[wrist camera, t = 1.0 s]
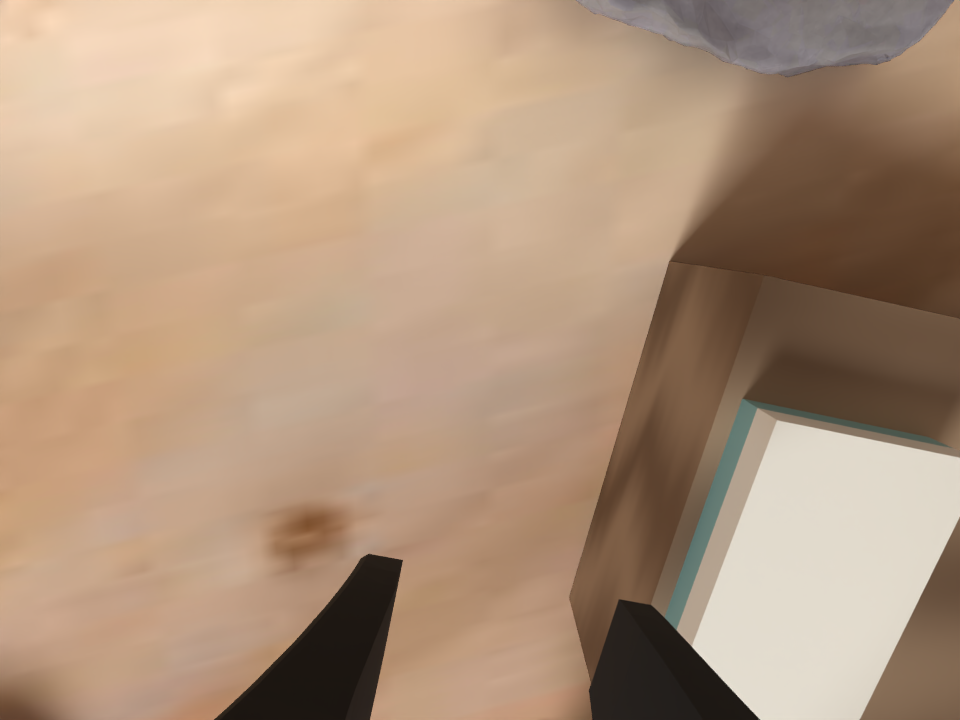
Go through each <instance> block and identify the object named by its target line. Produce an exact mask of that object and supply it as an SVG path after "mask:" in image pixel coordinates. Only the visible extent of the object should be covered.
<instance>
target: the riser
mask: <svg viewBox="0 0 960 720" xmlns="http://www.w3.org/2000/svg"><path fill="white" fill-rule="evenodd" d="M742 399H747V400H751V401H756V402H761V403H766V404H771V405H776V406H780V407H785V408H790V409H795V410H800V411H805V412H810V413H814V414H819V415H824V416H829V417H834V418H839V419H843V420H848V421H853V422H858V423H863V424H868V425H872V426H877V427H882V428H887V429H892V430H897V431H901V432H906V433H911V434H916V435H921V436H926V437H929V438H932V439H934V440H936V441H938V442H941V443H943V444H945V445H947V446H949V447H952V448H954V449H956V450H958V451H960V318H955V317H951V316H946V315H942V314H937V313H933V312H928V311H924V310H919V309H915V308H910V307H906V306H901V305H897V304H892V303H888V302H883V301H879V300H874V299H870V298H865V297H861V296H856V295H852V294H847V293H843V292H838V291H834V290H829V289H825V288H820V287H816V286H811V285H807V284H802V283H798V282H793V281H789V280H784V279H780V278H775V277H771V276H766V275H760V274H754V273H747V272H740V271H733V270H726V269H719V268H713V267H706V266H699V265H692V264H685V263H679V262H672V261H670V262H669V265H668V268H667V272H666V275H665V278H664V282H663V285H662V289H661V292H660V295H659V299H658V302H657V305H656V309H655V312H654V315H653V319H652V322H651V325H650V329H649V332H648V335H647V339H646V342H645V345H644V349H643V352H642V356H641V359H640V362H639V366H638V369H637V372H636V376H635V379H634V382H633V386H632V389H631V392H630V396H629V399H628V402H627V406H626V409H625V413H624V416H623V419H622V423H621V426H620V429H619V433H618V436H617V439H616V443H615V446H614V449H613V453H612V456H611V459H610V463H609V466H608V469H607V473H606V476H605V480H604V483H603V486H602V490H601V493H600V496H599V500H598V503H597V506H596V510H595V513H594V516H593V520H592V523H591V526H590V530H589V533H588V537H587V540H586V543H585V547H584V550H583V553H582V557H581V560H580V563H579V567H578V570H577V573H576V577H575V580H574V583H573V587H572V590H571V593H570V597H569V598H570V602H571V606H572V610H573V614H574V618H575V622H576V626H577V630H578V634H579V638H580V642H581V646H582V649H583V653H584V657H585V661H586V665H587V669H588V673H589V677H590V681H591V683H592V680H593V677H594V674H595V671H596V668H597V665H598V661H599V658H600V655H601V652H602V649H603V646H604V643H605V640H606V637H607V634H608V631H609V628H610V625H611V622H612V619H613V615H614V612H615V609H616V606H617V603H618V600H619V599H621V600H627V601H632V602H638V603H644V604H649V605H652V606H653V607H654V608H655V609H656V610H657V611H658V612H659V613H660V614H661V615H662V616H663V617H664V618H665V615H666V612H667V609H668V606H669V604H670V601H671V598H672V595H673V592H674V590H675V587H676V584H677V581H678V578H679V575H680V573H681V570H682V567H683V564H684V561H685V559H686V556H687V553H688V550H689V547H690V544H691V542H692V539H693V536H694V533H695V530H696V528H697V525H698V522H699V519H700V516H701V514H702V511H703V508H704V505H705V502H706V499H707V497H708V494H709V491H710V488H711V485H712V483H713V480H714V477H715V474H716V471H717V468H718V466H719V463H720V460H721V457H722V454H723V452H724V449H725V446H726V443H727V440H728V438H729V435H730V432H731V429H732V426H733V423H734V421H735V418H736V415H737V412H738V409H739V407H740V404H741V401H742ZM860 720H960V517H959V519H958V522H957V524H956V526H955V528H954V530H953V532H952V534H951V536H950V538H949V540H948V542H947V544H946V546H945V548H944V550H943V552H942V554H941V556H940V558H939V560H938V562H937V564H936V566H935V568H934V570H933V572H932V574H931V576H930V578H929V580H928V582H927V584H926V586H925V588H924V590H923V592H922V594H921V596H920V599H919V601H918V603H917V605H916V607H915V609H914V611H913V613H912V615H911V617H910V619H909V621H908V623H907V625H906V627H905V629H904V631H903V633H902V635H901V637H900V639H899V641H898V643H897V645H896V647H895V649H894V651H893V653H892V655H891V657H890V659H889V661H888V663H887V665H886V667H885V669H884V671H883V674H882V676H881V678H880V680H879V682H878V684H877V686H876V688H875V690H874V692H873V694H872V696H871V698H870V700H869V702H868V704H867V706H866V708H865V710H864V712H863V714H862V716H861V718H860Z"/></svg>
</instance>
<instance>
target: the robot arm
mask: <svg viewBox="0 0 960 720" xmlns="http://www.w3.org/2000/svg"><path fill="white" fill-rule="evenodd" d="M402 562H403V560H399V559H394V558H388V557H383V556H377V555H372V554H368V555H366V556H364V557H363V558H361V559H360V561H359V563H358V564H357V566H356V567H355V569H354V570H353V572H352V573H351V575H350V576H349V577H348V579H347V580H346V582H345V583H344V584H343V585H342V587H341V588H340V589H339V591H338V592H337V593H336V594H335V596H334V597H333V598H332V599H331V601H330V602H329V603H328V604H327V605H326V607H325V608H324V609H323V610H322V611H321V612H320V613H319V615H318V616H317V617H316V618H315V619H314V620H313V621H312V623H311V624H310V625H309V626H308V627H307V628H306V629H305V631H304V632H303V633H302V634H301V635H300V636H299V637H298V638H297V639H296V640H295V642H294V643H293V644H292V645H291V646H290V647H289V648H288V649H287V650H286V651H285V652H284V653H283V654H282V655H281V656H280V657H279V658H278V659H277V660H276V661H275V662H274V663H273V664H272V665H271V666H270V667H269V668H268V669H267V670H266V671H265V672H264V673H263V674H262V675H261V676H260V677H259V678H258V679H257V680H256V681H255V682H254V683H253V684H252V685H251V686H250V687H249V688H248V689H247V690H246V691H245V692H244V693H243V694H242V695H241V696H239V697H238V698H237V699H236V700H235V701H234V702H233V703H232V704H231V705H230V706H229V707H228V708H227V709H225V710H224V711H223V712H222V713H221V714H220V715H219V716H218V717H217V718H215V719H214V720H370V716H371V712H372V707H373V703H374V698H375V693H376V689H377V684H378V679H379V675H380V670H381V665H382V661H383V656H384V651H385V646H386V641H387V636H388V631H389V626H390V621H391V616H392V611H393V606H394V602H395V597H396V592H397V587H398V582H399V577H400V572H401V567H402ZM589 694H590V702H591V710H592V719H593V720H760V719H759V718H758V717H757V716H756V715H755V714H754V713H753V712H752V711H751V710H750V709H749V707H748V706H747V705H746V704H745V703H744V702H743V701H742V700H741V699H740V698H739V697H738V696H737V695H736V694H735V693H734V692H733V691H732V690H731V688H730V687H729V686H728V685H727V684H726V683H725V682H724V681H723V680H722V679H721V678H720V677H719V676H718V675H717V673H716V672H715V671H714V670H713V669H712V668H711V667H710V666H709V665H708V664H707V663H706V662H705V660H704V659H703V658H702V657H701V656H700V655H699V654H698V653H697V652H696V651H695V650H694V649H693V647H692V646H691V645H690V644H689V643H688V642H687V641H686V640H685V639H684V638H683V637H682V636H681V635H680V633H679V632H678V631H677V630H676V629H675V628H674V627H673V626H672V625H671V624H670V623H669V622H668V621H667V620H666V619H665V618H664V617H663V616H662V615H661V614H660V613H659V612H658V611H657V610H656V609H655V608H654V607H653V606H652V605H649V604H644V603H638V602H632V601H627V600H621V599H619V600H618V603H617V606H616V609H615V612H614V615H613V619H612V622H611V625H610V628H609V631H608V634H607V637H606V640H605V643H604V646H603V649H602V652H601V655H600V658H599V661H598V665H597V668H596V671H595V674H594V677H593V680H592V683H591V686H590V689H589Z"/></svg>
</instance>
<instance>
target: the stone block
mask: <svg viewBox="0 0 960 720" xmlns="http://www.w3.org/2000/svg"><path fill="white" fill-rule="evenodd" d="M576 1H577V2H578V3H580V4H581V5H583V6H584V7H585V8H587V9H588V10H590V11H591V12H592V13H594V14H601V15H604V16H606V17H609V18H611V19H614V20H617V21H621V22H623V23H625V24H627V25H630V26H634V27H639V28H642V29H645V30H648V31H651V32H654V33H657V34H662V35H664V36H665V37H666V38H667V39H668V40H671V41H675V42H677V43H679V44H682V45H685V46H692V47H696V48H699V49H702V50H705V51H707V52H709V53H711V54H712V55H714V56H716V57H717V58H719V59H720V60H722V61H723V62H727V63H731V64H734V65H738V66H742V67H744V68H746V69H750V70H753V71H755V72H758V73H762V74H777V73H778V74H780V75H784V76H785V77H790V76H794V75H797V74H801V73H804V72H808V71H811V70H814V69H818V68H822V67H826V66H847V65H858V64H873V65H877V64H880V63H883V62H887V61H890V60H891V59H892V58H894V57H896V56H899V55H901V54H902V53H903V52H904V51H905V50H906V49H908V48H909V47H911V46H912V45H914V44H915V43H917V42H919V41H920V40H921V39H922V38H923V37H924V36H925V34H926V33H927V32H928V31H929V30H930V29H931V28H932V27H933V26H934V25H935V24H936V23H937V21H938V20H939V19H940V18H941V17H942V15H943V14H944V13H945V12H946V10H947V9H948V7H949V6H950V4H951V3H952V2H953V1H954V0H576Z"/></svg>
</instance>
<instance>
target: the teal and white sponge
mask: <svg viewBox="0 0 960 720" xmlns="http://www.w3.org/2000/svg"><path fill="white" fill-rule="evenodd" d="M959 517H960V451H958V450H956V449H954V448H952V447H949V446H947V445H945V444H943V443H941V442H938V441H936V440H934V439H932V438H929V437H926V436H921V435H916V434H911V433H906V432H901V431H897V430H892V429H887V428H882V427H877V426H872V425H868V424H863V423H858V422H853V421H848V420H843V419H839V418H834V417H829V416H824V415H819V414H814V413H810V412H805V411H800V410H795V409H790V408H785V407H780V406H776V405H771V404H766V403H761V402H756V401H751V400H747V399H742V401H741V404H740V407H739V409H738V412H737V415H736V418H735V421H734V423H733V426H732V429H731V432H730V435H729V438H728V440H727V443H726V446H725V449H724V452H723V454H722V457H721V460H720V463H719V466H718V468H717V471H716V474H715V477H714V480H713V483H712V485H711V488H710V491H709V494H708V497H707V499H706V502H705V505H704V508H703V511H702V514H701V516H700V519H699V522H698V525H697V528H696V530H695V533H694V536H693V539H692V542H691V544H690V547H689V550H688V553H687V556H686V559H685V561H684V564H683V567H682V570H681V573H680V575H679V578H678V581H677V584H676V587H675V590H674V592H673V595H672V598H671V601H670V604H669V606H668V609H667V612H666V615H665V619H666V620H667V621H668V622H669V623H670V624H671V625H672V626H673V627H674V628H675V629H676V630H677V631H678V632H679V633H680V635H681V636H682V637H683V638H684V639H685V640H686V641H687V642H688V643H689V644H690V645H691V646H692V647H693V649H694V650H695V651H696V652H697V653H698V654H699V655H700V656H701V657H702V658H703V659H704V660H705V662H706V663H707V664H708V665H709V666H710V667H711V668H712V669H713V670H714V671H715V672H716V673H717V675H718V676H719V677H720V678H721V679H722V680H723V681H724V682H725V683H726V684H727V685H728V686H729V687H730V688H731V690H732V691H733V692H734V693H735V694H736V695H737V696H738V697H739V698H740V699H741V700H742V701H743V702H744V703H745V704H746V705H747V706H748V707H749V709H750V710H751V711H752V712H753V713H754V714H755V715H756V716H757V717H758V718H759V719H760V720H860V718H861V716H862V714H863V712H864V710H865V708H866V706H867V704H868V702H869V700H870V698H871V696H872V694H873V692H874V690H875V688H876V686H877V684H878V682H879V680H880V678H881V676H882V674H883V671H884V669H885V667H886V665H887V663H888V661H889V659H890V657H891V655H892V653H893V651H894V649H895V647H896V645H897V643H898V641H899V639H900V637H901V635H902V633H903V631H904V629H905V627H906V625H907V623H908V621H909V619H910V617H911V615H912V613H913V611H914V609H915V607H916V605H917V603H918V601H919V599H920V596H921V594H922V592H923V590H924V588H925V586H926V584H927V582H928V580H929V578H930V576H931V574H932V572H933V570H934V568H935V566H936V564H937V562H938V560H939V558H940V556H941V554H942V552H943V550H944V548H945V546H946V544H947V542H948V540H949V538H950V536H951V534H952V532H953V530H954V528H955V526H956V524H957V522H958V519H959Z"/></svg>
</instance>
